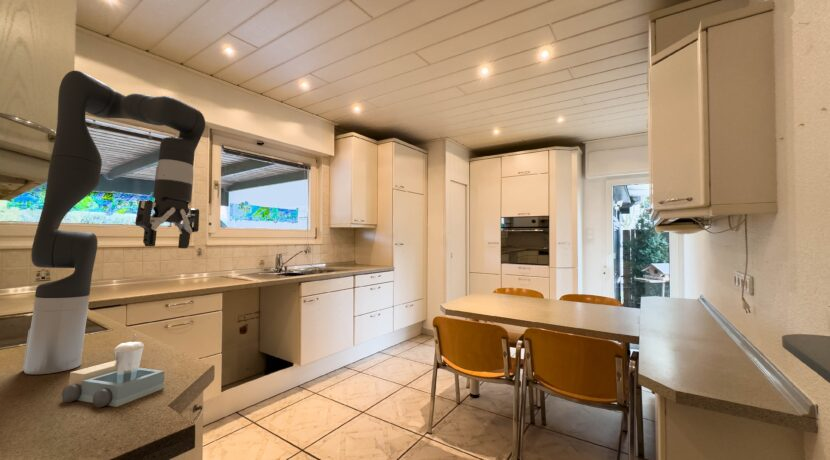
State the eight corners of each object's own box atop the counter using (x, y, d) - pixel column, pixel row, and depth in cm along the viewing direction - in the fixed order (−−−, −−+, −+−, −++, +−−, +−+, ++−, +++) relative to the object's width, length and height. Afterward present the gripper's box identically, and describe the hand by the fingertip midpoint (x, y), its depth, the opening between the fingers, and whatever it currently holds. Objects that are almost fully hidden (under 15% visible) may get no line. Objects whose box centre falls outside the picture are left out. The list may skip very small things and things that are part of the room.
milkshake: (143, 381, 71) (148, 333, 72) (135, 390, 66) (141, 339, 67) (115, 384, 69) (121, 335, 70) (105, 394, 64) (112, 341, 65)
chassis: (56, 400, 63) (59, 375, 63) (120, 380, 74) (122, 358, 75) (109, 409, 60) (112, 382, 61) (167, 386, 71) (170, 364, 72)
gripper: (158, 173, 73) (150, 246, 72) (210, 187, 87) (204, 249, 86) (131, 174, 75) (123, 245, 73) (187, 188, 89) (180, 248, 87)
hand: (167, 247), depth 80 cm, fingers open, 8 cm apart
